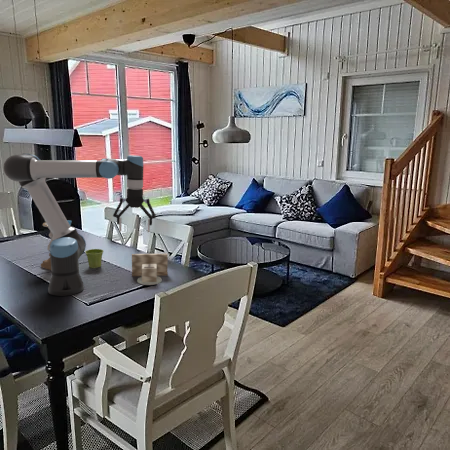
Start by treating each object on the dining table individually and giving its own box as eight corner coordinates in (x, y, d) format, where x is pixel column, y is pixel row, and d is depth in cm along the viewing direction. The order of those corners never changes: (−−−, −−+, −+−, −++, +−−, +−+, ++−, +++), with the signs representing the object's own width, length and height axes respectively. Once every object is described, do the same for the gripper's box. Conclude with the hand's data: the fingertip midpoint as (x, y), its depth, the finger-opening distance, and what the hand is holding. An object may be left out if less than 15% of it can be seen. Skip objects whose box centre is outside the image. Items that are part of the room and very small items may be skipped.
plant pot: (101, 269, 211) (100, 254, 210) (83, 269, 211) (82, 253, 209) (106, 264, 221) (105, 249, 219) (89, 263, 220) (88, 248, 219)
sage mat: (152, 286, 190) (152, 285, 190) (132, 282, 195) (132, 281, 195) (166, 279, 201) (166, 278, 201) (146, 275, 205) (146, 274, 205)
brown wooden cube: (156, 277, 201) (156, 263, 200) (156, 281, 195) (156, 267, 193) (142, 277, 200) (142, 263, 199) (142, 282, 194) (141, 268, 192)
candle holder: (58, 262, 221) (55, 220, 216) (71, 265, 216) (68, 222, 211) (40, 267, 212) (37, 223, 207) (53, 271, 207) (50, 226, 202)
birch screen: (167, 272, 210) (167, 252, 207) (167, 275, 206) (167, 255, 204) (132, 273, 207) (132, 253, 205) (131, 276, 203) (131, 255, 201)
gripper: (161, 188, 195) (160, 230, 200) (109, 186, 192) (109, 228, 196) (161, 190, 188) (160, 233, 193) (106, 188, 185) (107, 232, 189)
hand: (134, 231), depth 195 cm, fingers open, 13 cm apart
